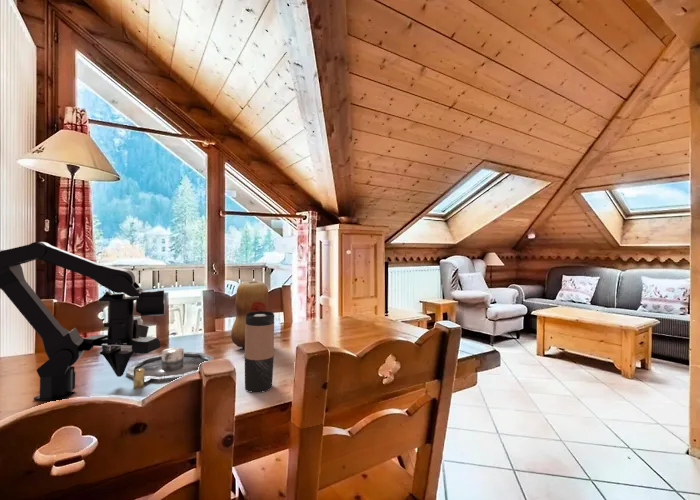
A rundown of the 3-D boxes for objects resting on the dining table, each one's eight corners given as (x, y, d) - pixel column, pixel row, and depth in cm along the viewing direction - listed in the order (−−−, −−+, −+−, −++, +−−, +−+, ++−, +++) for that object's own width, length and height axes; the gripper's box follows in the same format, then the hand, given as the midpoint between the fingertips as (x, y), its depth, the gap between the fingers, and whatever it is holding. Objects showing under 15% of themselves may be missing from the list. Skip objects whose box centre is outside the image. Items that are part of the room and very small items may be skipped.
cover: (176, 371, 103) (176, 354, 103) (156, 369, 103) (157, 353, 103) (187, 364, 109) (187, 348, 109) (168, 363, 109) (169, 347, 109)
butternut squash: (239, 356, 120) (241, 283, 120) (225, 346, 131) (227, 280, 130) (276, 349, 129) (277, 281, 129) (260, 341, 140) (261, 278, 139)
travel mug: (275, 382, 99) (277, 311, 98) (270, 393, 91) (271, 317, 91) (248, 381, 99) (249, 310, 98) (240, 393, 91) (242, 316, 91)
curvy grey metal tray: (178, 393, 89) (179, 374, 89) (93, 388, 91) (93, 369, 91) (226, 358, 117) (226, 343, 117) (160, 355, 119) (160, 340, 119)
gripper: (172, 312, 99) (171, 367, 100) (111, 310, 101) (110, 364, 101) (146, 321, 88) (145, 382, 89) (77, 318, 90) (77, 378, 90)
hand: (120, 376), depth 92 cm, fingers closed
